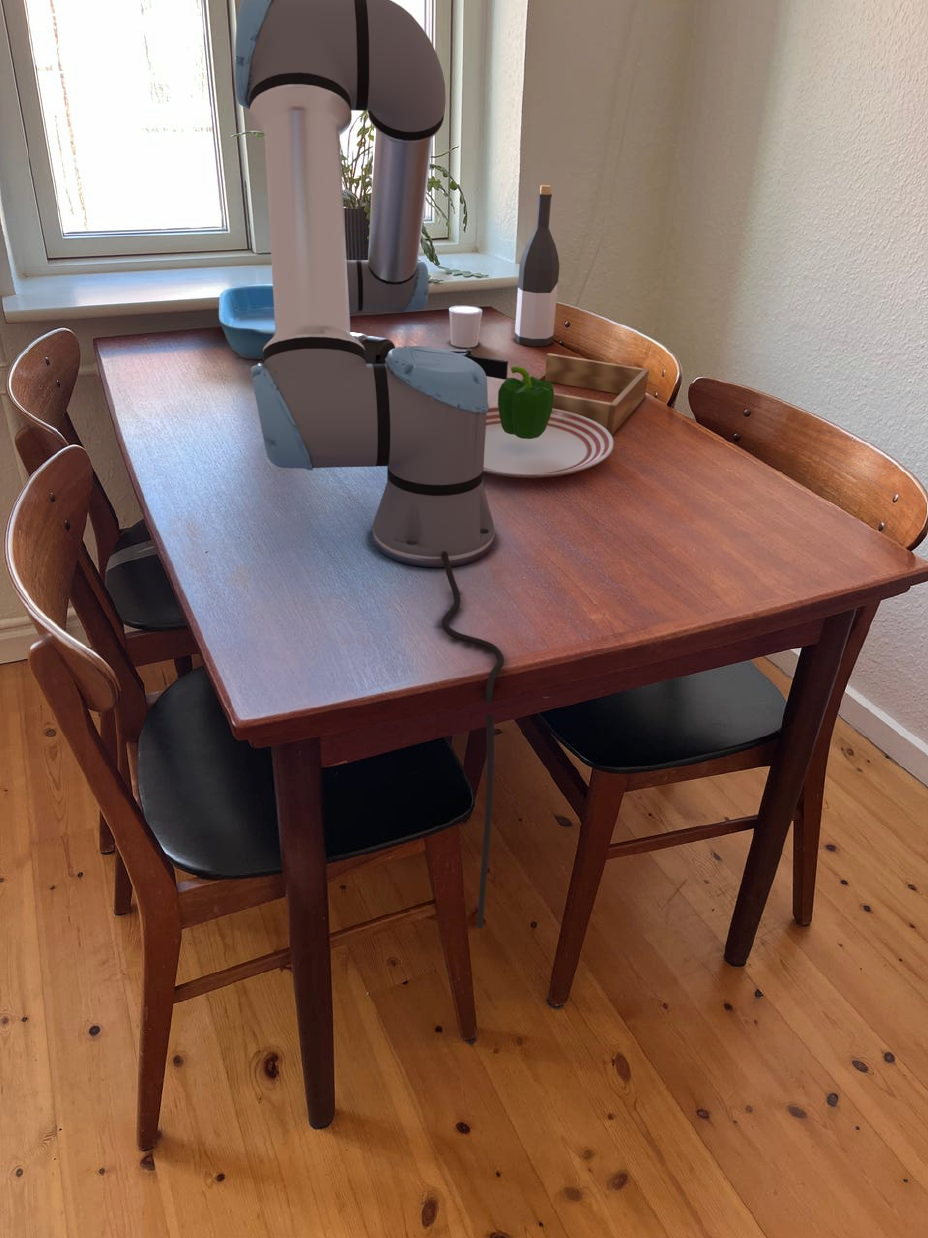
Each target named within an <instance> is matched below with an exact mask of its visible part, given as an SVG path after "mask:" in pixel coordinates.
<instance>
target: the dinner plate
mask: <svg viewBox="0 0 928 1238" xmlns="http://www.w3.org/2000/svg"><path fill="white" fill-rule="evenodd" d="M614 445H615V444H614V438H613V435H611V434H610V433H609V432H608V430H606V429H605V428H604V427H603V426H601V425H600V424H598V423H597V422H595V421H593V420H591V419H589V418H586V417H584V416H581V415H578V414H575V413H571V412H567V411H563V410H559V409H553V408H552V412H551V415H550V418H549V421H548V424H547V427H546V429H545V431H544V432H543V433H542V435H540V436H539V437H538V438H533V439H522V438H519V437H517V436H516V435H513V434H508V433H505V432H504V430H503V428H502V425H501V420H500V415H499V408H498V405H489V409H488V411H487V416H486V434H485V451H484V468H483V473H488V474H492V475H496V476H502V477H506V478H516V479H542V478H550V477H559V476H564V475H569V474H570V475H571V474H574V473H578V472H581V471H584V470H588V469H589V468H592V467H594V466H596V465H598V464H600V463H601V462H603V461H604V460H606V459H607V458H608V457H609V456H610V455H611V454H612V451H613V449H614Z"/></svg>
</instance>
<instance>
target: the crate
mask: <svg viewBox="0 0 928 1238" xmlns="http://www.w3.org/2000/svg"><path fill="white" fill-rule="evenodd" d="M649 375H650V369H648V368H643V367H636V366H631V365H624V364H618V363H611V362H605V361H599V360H594V359H586V358H582V357H581V358H580V357H575V356H568V355H562V354H556V353H551V352H548V353H547V354H546V360H545V372H540V374H538V375H537V376H535V378H537V379H539V380H541V381H551V382H552V384H553V383H555V384H560V385H564V386H565V385H566V386H572V387H576V388H583V389H588V390H595V391H600V392H606V393H612V394H618V395H617V397H616V398H615V399H614V400H613V401H612V402H608V401H604V400H603V401H602V400H597V399H591V398H586V397H579V396H574V395H569V394H563V393H557V392H554V398H553V407H552V408H553V409H559V410H563V411H567V412H571V413H575V414H578V415H581V416H584V417H586V418H589V419H591V420H593V421H595V422H597V423H598V424H600V425H601V426H603V427H604V428H605V429H606V430H608V432H609V433H610V434H611V436H613V435H614V434H615V432H617V430H618V429H619V428H620V427H621V425H622V424H623V423H624V422H625V421H626V419H627V418H628V417H629V416H630V415H631V414H632V413H633V411H634V410H635V409H636V408H637V407H638V406H639V404H641V402H642V401H643V400H644V399H645V398H646V395H647V388H648V381H649Z"/></svg>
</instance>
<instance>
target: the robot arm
mask: <svg viewBox="0 0 928 1238" xmlns="http://www.w3.org/2000/svg"><path fill="white" fill-rule="evenodd" d="M235 29H236V30H235V44H234V45H235V46H234V52H235V54H234V55H235V62H234V63H235V65H234V78H235V79H234V83H235V95H236V100H237V102H238V104H239V106H242V107H244V108H245V109H248V110H249V116H250V120H251V122H252V124H253V125H254V126H255V128H256V129H257V130H258V131H260V132H261V133H262V134H264V146H265V147H264V150H265V167H266V183H267V184H266V185H267V200H268V201H267V202H268V220H269V237H270V239H269V241H270V256H271V257H270V258H271V259H270V260H271V277H272V284H273V298H274V317H275V331H274V334H273V338H272V339H271V340H270V341H269V342H268V343H267V344H266V345H265V346H264V348H263V359H262V361H263V363H260V362H258V363H257V364H255V365H252V366H251V368H250V374H251V380H252V385H253V391H254V396H255V402H256V407H257V412H258V417H259V422H260V427H261V433H262V438H263V442H264V448H265V452H266V456H267V458H268V460H269V462H270V463H271V464H273V465H274V466H275V467H277V468H280V469H300V470H301V469H304V470H305V469H306V470H307V471H313V469H329V468H333V469H334V468H375V467H376V468H377V467H387V469H386V471H387V475H386V476H387V479H386V484H385V487H384V490H383V493H382V495H381V499H380V502H379V505H378V507H377V510H376V514H375V516H374V519H373V523H372V542H373V544H374V546H375V547H376V549H377V550H378V551H379V552H380V553H382V554H383V555H385V556H386V557H388V558H389V559H392V560H394V561H397V562H399V563H403V564H407V565H411V566H415V567H423V568H444V569H445V574H446V576H447V581H448V583H449V586H450V588H451V591H452V595H453V604H452V606H451V608H450V609H449V610H448V611H447V612H446V613H445V615H444V616H443V617H442V621H441V626H442V628H443V630H444V632H445V633H446V634H447V636H449V637H451V638H453V639H455V640H458V641H461V642H464V643H467V644H472V645H475V646H478V647H481V648H483V649H486V650H488V651H490V652H491V653H493V655H494V656H495V657H496V663H495V665H494V666H493V667H492V669H491V671H490V673H489V675H488V677H487V681H486V686H485V702H486V703H488V704H491V703H492V702H493V701H494V699H493V698H494V687H495V681H496V680H497V677H498V675H499V673H500V672H501V670H502V669H503V667H504V663H505V657H504V655H503V653H502V651H501V650H500V649H499V648H498V647H497V645H495V644H493V643H492V642H489V641H487V640H484V639H482V638H477V637H474V636H470V635H467V634H464V633H461V632H459V631H456V630H454V629H452V627H450V624H449V623H450V620H451V619H452V618H453V617H454V615H455V614H456V613H457V612H458V611H459V609H460V606H461V594H460V590H459V587H458V584H457V582H456V579H455V576H454V572H453V568H452V567H457V566H462V565H467V564H469V563H473V562H475V561H477V560H479V559H481V558H483V557H484V556H486V555H487V554H488V553H490V551H491V550H492V549H493V547H494V543H495V523H494V519H493V516H492V513H491V509H490V506H489V502H488V498H487V495H486V491H485V488H484V471H483V468H484V451H485V434H486V416H487V411H488V409H489V406H490V405H489V400H488V399H489V398H488V397H489V396H488V378H494V379H499V380H504V381H505V380H506V379H507V378H508V369H509V360H504V359H499V358H498V359H497V358H492V357H485V356H480V355H476V354H475V355H474V354H473V353H472V352H473V350H472V349H471V348H470V347H469V348H465V349H462V348H461V349H459V348H458V349H455V348H436V347H431V346H421V345H406V346H404V347H403V346H402V347H401V346H398V347H397V346H396V345H395V343H394V342H393V341H392V340H391V339H389V338H386V337H380V336H374V335H367V334H364V333H357V332H351V331H352V330H351V315H350V312H374V313H375V312H376V313H377V312H380V313H381V312H382V313H384V312H385V313H404V312H415V311H416V312H418V311H422V310H424V309H425V308H426V307H427V305H428V301H429V290H430V285H429V284H430V283H429V281H430V280H429V269H428V266H427V264H426V263H425V262H424V261H422V260H419V257H420V247H421V239H422V232H423V224H424V216H425V207H426V200H427V191H428V183H429V176H430V167H431V160H432V159H431V158H432V150H433V142H434V137H435V136H436V135H437V134H438V133H439V132H440V130H441V128H442V127H443V124H444V120H445V119H444V118H445V111H446V102H447V99H446V98H447V95H446V83H445V77H444V73H443V69H442V66H441V65H442V64H441V62H440V59H439V56H438V54H437V52H436V49H435V47H434V45H433V42H432V41H431V39H430V38H429V36H428V34H427V33H426V31H425V29H424V28H423V27H422V26H421V25H420V23H419V22H418V21H417V20H416V19H415V17H414V16H413V15H412V14H411V13H410V12H409V11H408V10H406V8H404V7H403V6H401V5H400V4H398V3H396V2H395V1H393V0H241V1H240V3H239V6H238V12H237V17H236V28H235ZM353 111H360V112H365V111H366V112H367V117H368V120H369V122H370V124H371V126H372V127H373V128H374V134H373V154H372V155H373V156H372V172H371V173H372V176H371V194H370V215H369V235H368V253H367V255H368V256H367V258H368V259H367V260H365V259H364V260H363V259H362V260H358V259H357V260H356V259H355V260H354V259H352V260H351V259H347V246H346V245H347V244H346V243H347V241H346V227H345V225H346V224H345V209H344V192H343V191H344V190H343V173H342V156H341V155H342V153H341V152H342V151H341V137H340V136H342V135H343V134H344V133H345V132H346V131H347V130H348V129H349V128H350V125H351V123H352V118H353V116H352V115H353V113H352V112H353ZM485 724H486V749H487V750H486V783H485V784H486V785H485V787H486V788H485V808H484V827H483V841H482V852H481V853H482V854H481V864H480V878H479V889H478V890H479V891H478V903H477V918H476V927H477V929H483V928H484V919H485V918H484V917H485V904H486V892H487V891H486V890H487V881H488V880H487V878H488V867H489V856H490V846H491V845H490V844H491V833H492V832H491V831H492V818H493V817H492V816H493V802H494V801H493V800H494V799H493V798H494V777H495V776H494V772H495V771H494V770H495V725H494V714H493V713H491V714H487V715H485Z"/></svg>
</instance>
